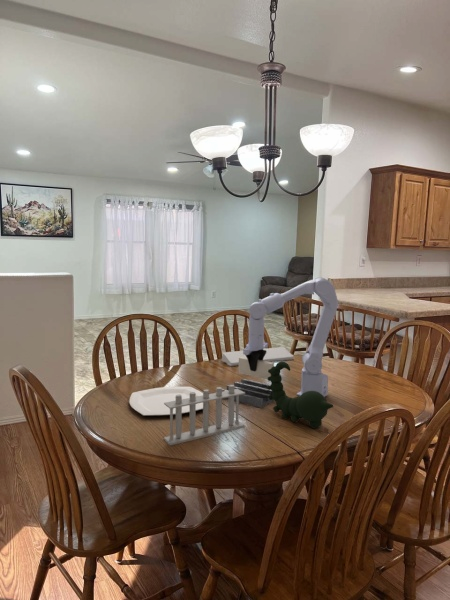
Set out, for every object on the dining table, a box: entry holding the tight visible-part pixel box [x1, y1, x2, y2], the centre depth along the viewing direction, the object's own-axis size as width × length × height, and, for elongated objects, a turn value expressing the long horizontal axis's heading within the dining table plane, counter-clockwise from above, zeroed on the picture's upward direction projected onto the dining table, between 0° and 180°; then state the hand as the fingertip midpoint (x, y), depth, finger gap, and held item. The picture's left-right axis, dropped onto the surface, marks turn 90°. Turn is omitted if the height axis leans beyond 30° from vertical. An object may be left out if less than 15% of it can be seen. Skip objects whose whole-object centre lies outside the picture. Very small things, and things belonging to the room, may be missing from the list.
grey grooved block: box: [222, 378, 274, 409], centre depth 158 cm, size 18×16×3 cm
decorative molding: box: [221, 346, 295, 367], centre depth 209 cm, size 34×5×10 cm
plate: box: [128, 386, 203, 417], centre depth 150 cm, size 27×27×2 cm
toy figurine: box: [267, 361, 334, 429], centre depth 135 cm, size 9×19×25 cm
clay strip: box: [238, 357, 275, 381], centre depth 161 cm, size 14×2×6 cm, turn 54°
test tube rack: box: [163, 384, 246, 446], centre depth 126 cm, size 25×4×13 cm, turn 122°
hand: (255, 369), depth 161 cm, fingers closed on clay strip, 2 cm apart
